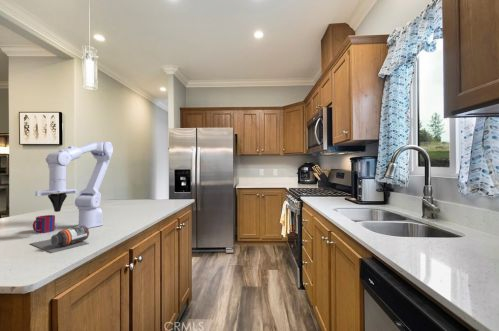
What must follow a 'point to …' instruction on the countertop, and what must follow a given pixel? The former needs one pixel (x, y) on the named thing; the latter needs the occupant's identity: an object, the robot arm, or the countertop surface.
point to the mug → (44, 224)
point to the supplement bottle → (70, 236)
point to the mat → (50, 248)
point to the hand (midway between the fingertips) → (57, 211)
